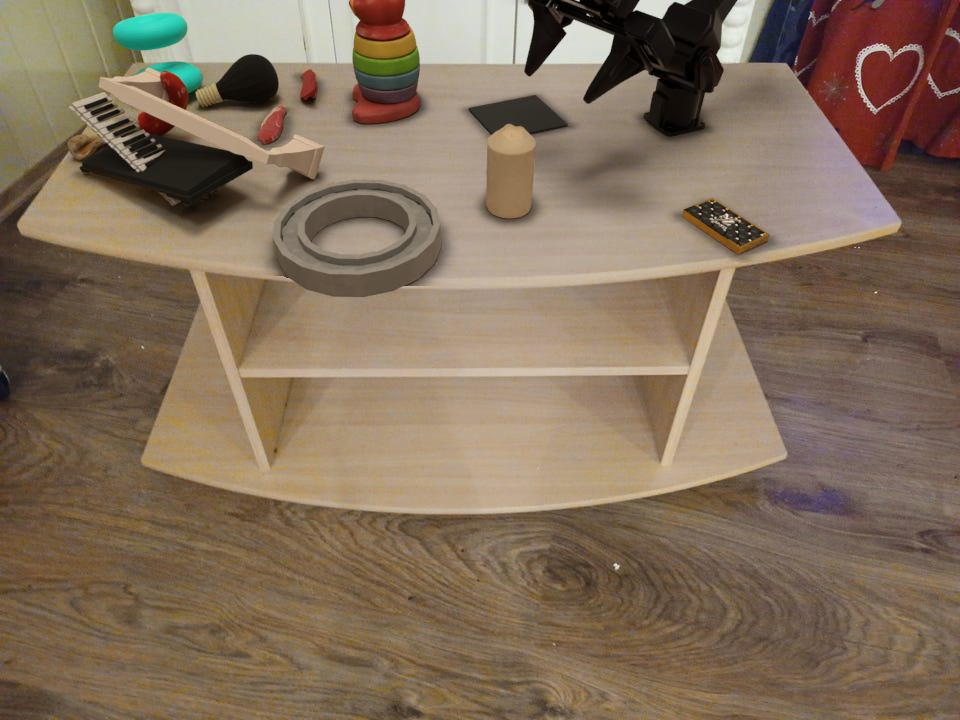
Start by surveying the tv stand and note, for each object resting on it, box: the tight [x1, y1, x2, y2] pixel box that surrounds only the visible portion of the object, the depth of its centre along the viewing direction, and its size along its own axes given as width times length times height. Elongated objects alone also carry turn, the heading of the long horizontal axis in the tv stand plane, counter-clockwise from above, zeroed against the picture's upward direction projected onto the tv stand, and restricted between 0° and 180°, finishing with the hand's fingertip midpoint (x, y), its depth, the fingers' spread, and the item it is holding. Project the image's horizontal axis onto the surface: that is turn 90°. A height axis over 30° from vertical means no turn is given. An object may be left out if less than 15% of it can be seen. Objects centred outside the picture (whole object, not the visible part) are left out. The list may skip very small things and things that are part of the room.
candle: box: [485, 124, 537, 219], centre depth 85 cm, size 6×6×10 cm
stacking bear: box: [348, 0, 421, 125], centre depth 101 cm, size 11×10×18 cm
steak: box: [256, 104, 287, 145], centre depth 102 cm, size 10×1×3 cm
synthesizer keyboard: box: [68, 91, 254, 209], centre depth 89 cm, size 22×10×10 cm, turn 56°
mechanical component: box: [272, 178, 442, 298], centre depth 82 cm, size 18×18×3 cm
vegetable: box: [136, 71, 189, 136], centre depth 96 cm, size 4×5×12 cm
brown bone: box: [67, 113, 140, 161], centre depth 100 cm, size 17×3×3 cm
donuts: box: [112, 12, 204, 94], centre depth 105 cm, size 10×10×10 cm
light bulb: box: [195, 53, 280, 108], centre depth 105 cm, size 7×7×12 cm
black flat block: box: [681, 197, 770, 255], centre depth 86 cm, size 9×1×5 cm
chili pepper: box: [299, 69, 318, 101], centre depth 109 cm, size 12×5×2 cm
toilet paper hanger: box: [98, 68, 326, 180], centre depth 89 cm, size 26×10×4 cm
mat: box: [468, 94, 569, 136], centre depth 105 cm, size 11×10×1 cm
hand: (555, 87), depth 83 cm, fingers open, 9 cm apart
